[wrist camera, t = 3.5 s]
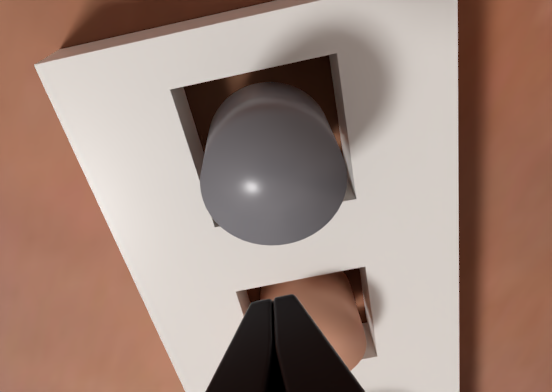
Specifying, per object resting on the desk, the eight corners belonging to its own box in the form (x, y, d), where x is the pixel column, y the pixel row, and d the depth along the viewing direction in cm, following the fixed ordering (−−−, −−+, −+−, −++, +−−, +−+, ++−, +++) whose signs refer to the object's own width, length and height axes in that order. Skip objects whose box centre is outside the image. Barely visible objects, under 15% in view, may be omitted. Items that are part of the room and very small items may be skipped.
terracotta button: (345, 250, 19) (360, 300, 17) (356, 319, 21) (371, 373, 18) (250, 269, 19) (251, 321, 17) (270, 335, 21) (274, 391, 19)
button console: (431, -35, 14) (457, -31, 12) (445, 430, 26) (459, 466, 24) (58, 49, 15) (33, 64, 13) (238, 466, 27) (237, 504, 25)
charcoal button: (319, 69, 14) (336, 99, 11) (337, 182, 16) (355, 230, 13) (192, 96, 14) (180, 133, 12) (225, 205, 16) (221, 256, 14)
